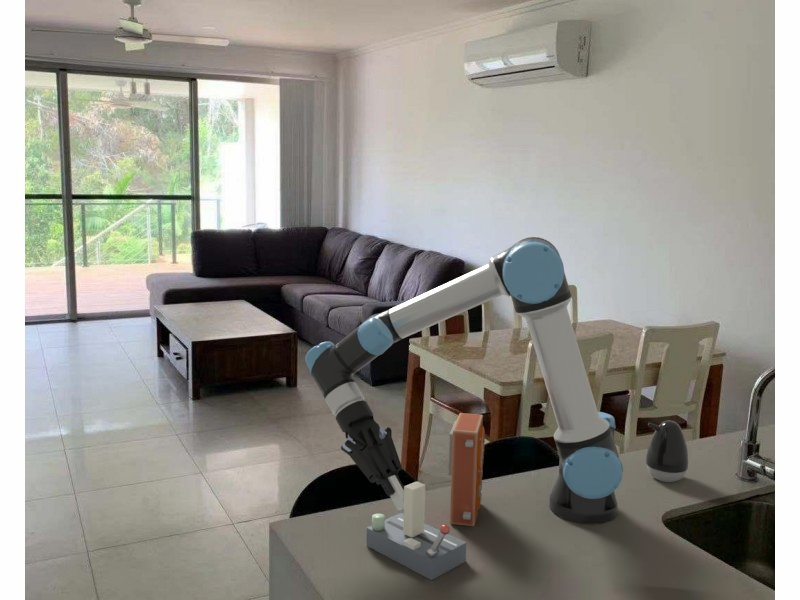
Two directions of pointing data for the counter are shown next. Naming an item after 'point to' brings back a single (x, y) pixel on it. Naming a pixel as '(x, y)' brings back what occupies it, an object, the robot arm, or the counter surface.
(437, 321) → the robot arm
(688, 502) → the counter surface
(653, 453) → the pump dispenser
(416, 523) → the cream rectangular block
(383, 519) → the push button
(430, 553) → the toggle lever
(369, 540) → the switch console
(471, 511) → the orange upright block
